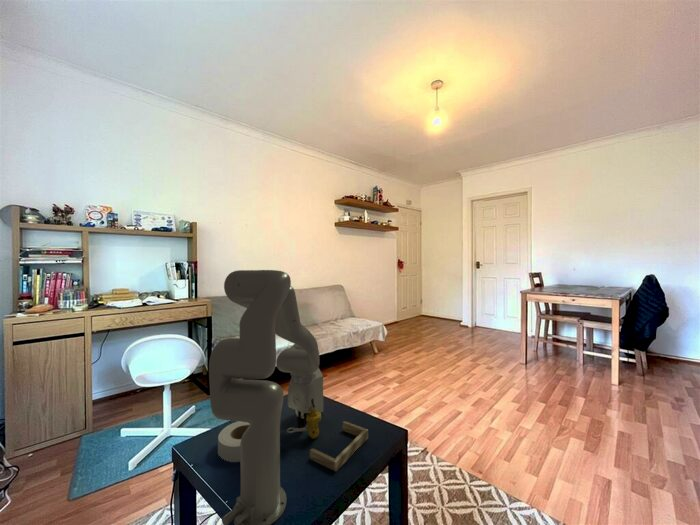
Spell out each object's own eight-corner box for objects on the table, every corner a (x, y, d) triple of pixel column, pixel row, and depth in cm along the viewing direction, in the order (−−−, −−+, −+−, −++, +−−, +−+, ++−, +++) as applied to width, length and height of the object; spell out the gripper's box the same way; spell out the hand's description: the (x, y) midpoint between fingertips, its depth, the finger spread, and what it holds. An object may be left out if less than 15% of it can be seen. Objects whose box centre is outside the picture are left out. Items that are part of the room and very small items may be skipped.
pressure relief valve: (321, 441, 98) (320, 412, 98) (285, 443, 97) (285, 414, 96) (321, 431, 103) (320, 404, 103) (287, 434, 102) (287, 406, 102)
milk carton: (299, 411, 117) (299, 366, 117) (313, 405, 122) (313, 362, 122) (309, 418, 112) (308, 371, 112) (323, 412, 117) (323, 366, 117)
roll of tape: (240, 430, 105) (240, 415, 105) (276, 438, 100) (276, 423, 100) (206, 457, 90) (206, 440, 90) (246, 469, 85) (246, 451, 85)
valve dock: (336, 472, 83) (336, 462, 83) (309, 459, 89) (309, 450, 89) (368, 438, 99) (368, 429, 99) (344, 428, 105) (344, 420, 105)
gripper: (279, 376, 105) (280, 425, 105) (310, 386, 96) (310, 439, 97) (294, 370, 111) (294, 416, 111) (324, 378, 103) (324, 428, 103)
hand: (302, 426), depth 104 cm, fingers closed
